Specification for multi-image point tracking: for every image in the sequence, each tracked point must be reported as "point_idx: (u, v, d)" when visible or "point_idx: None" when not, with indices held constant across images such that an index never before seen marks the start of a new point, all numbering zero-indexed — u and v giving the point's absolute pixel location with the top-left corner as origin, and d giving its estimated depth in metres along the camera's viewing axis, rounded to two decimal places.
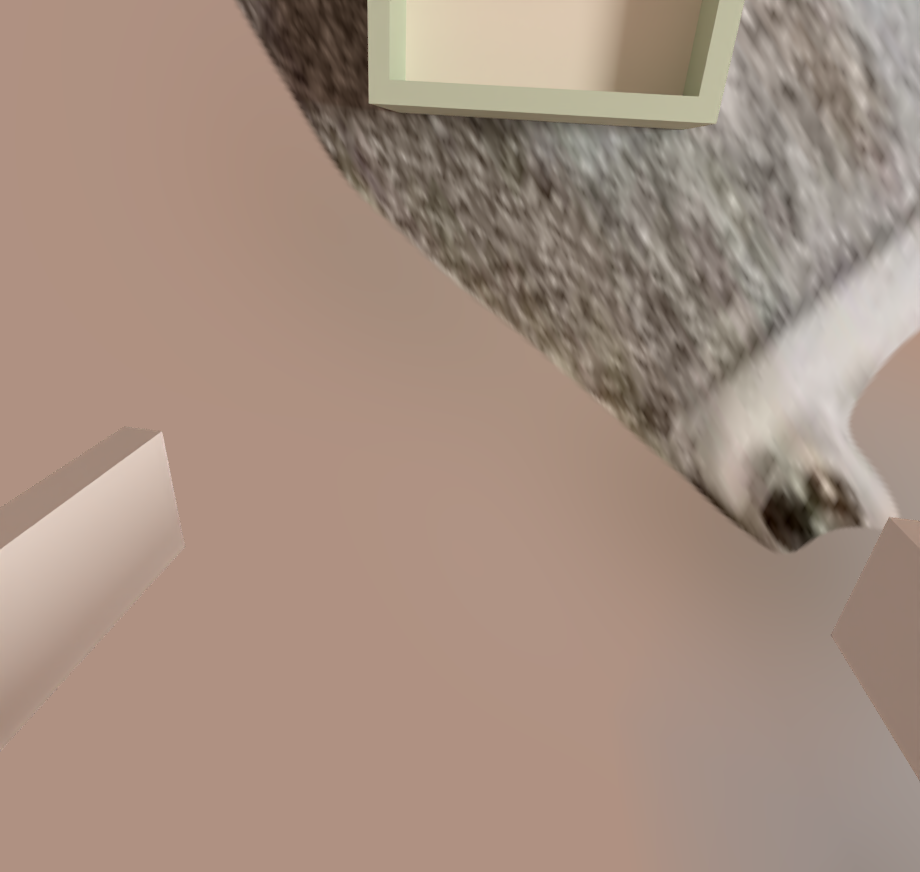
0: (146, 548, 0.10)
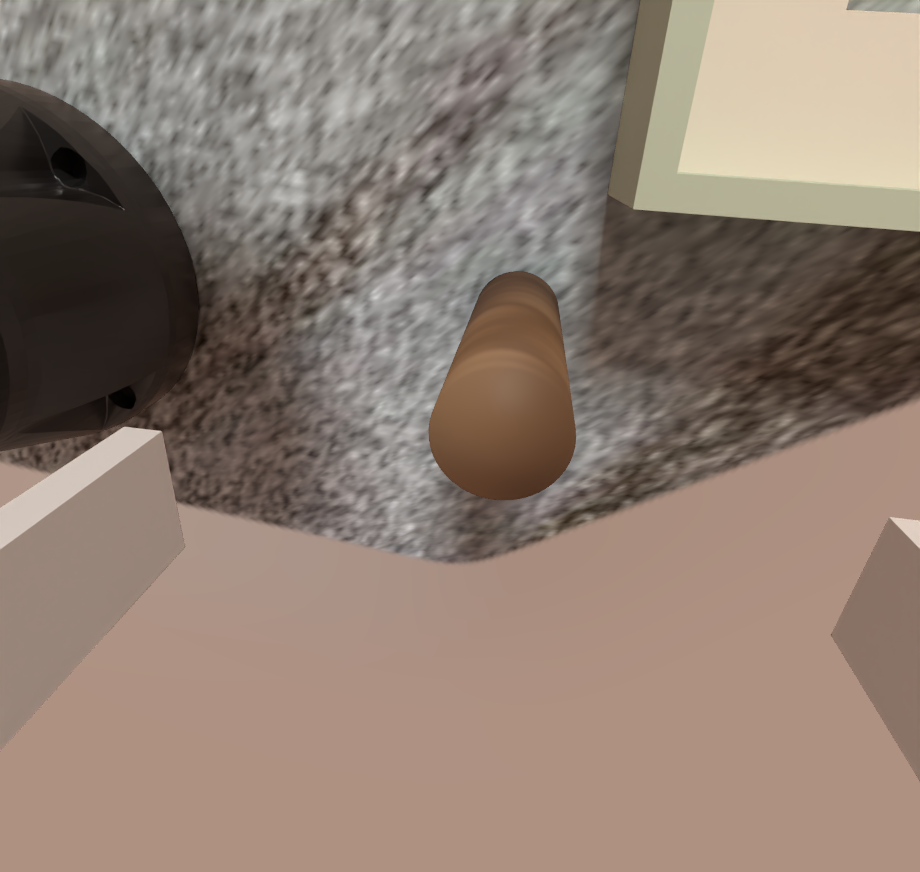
0: (146, 548, 0.10)
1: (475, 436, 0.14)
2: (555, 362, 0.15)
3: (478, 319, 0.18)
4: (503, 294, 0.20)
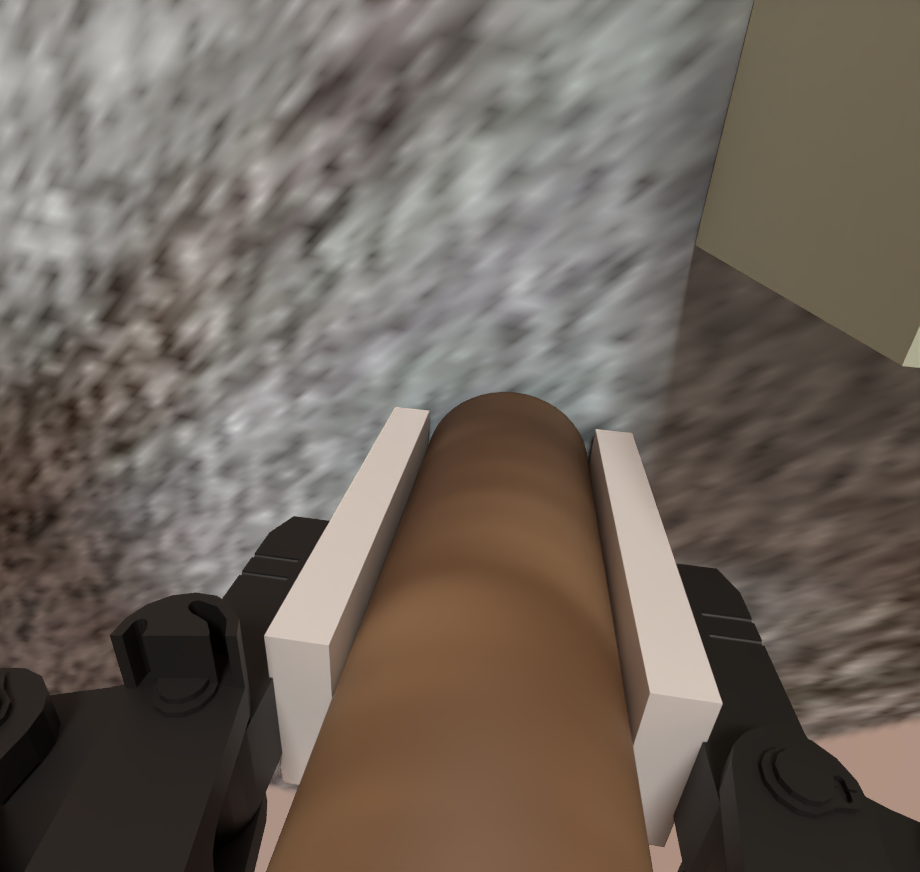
0: None
1: None
2: None
3: (385, 629, 0.06)
4: (467, 500, 0.08)
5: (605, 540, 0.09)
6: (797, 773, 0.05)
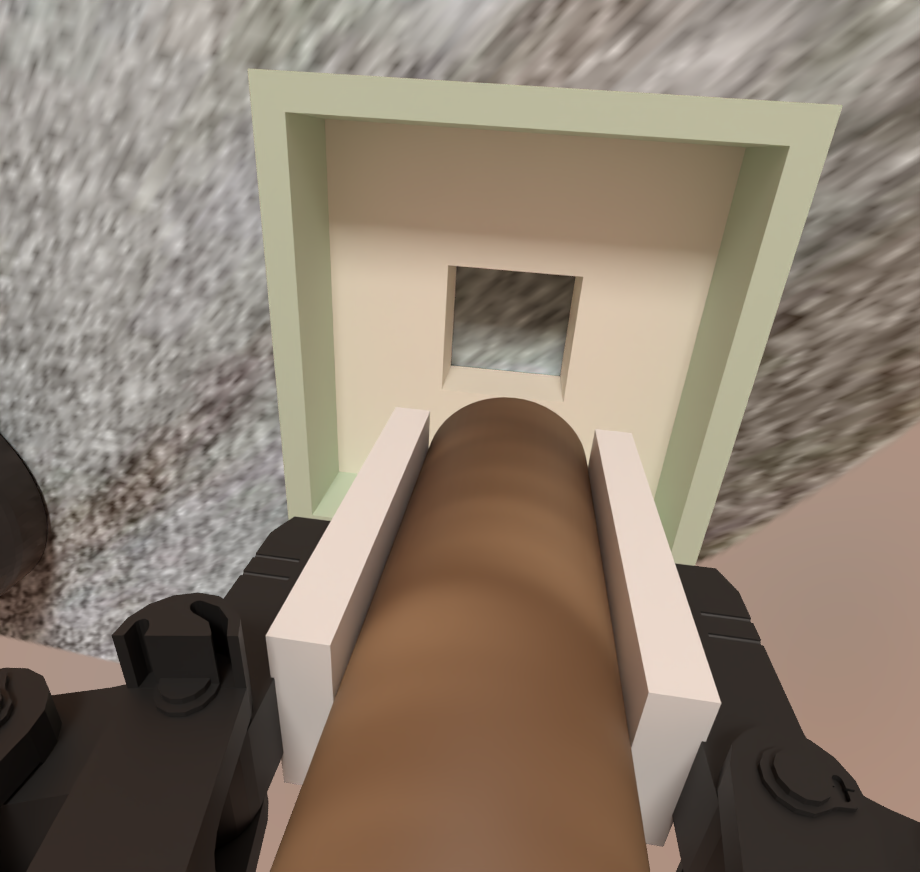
0: None
1: None
2: None
3: (384, 638, 0.06)
4: (466, 508, 0.08)
5: (604, 540, 0.09)
6: (794, 772, 0.05)
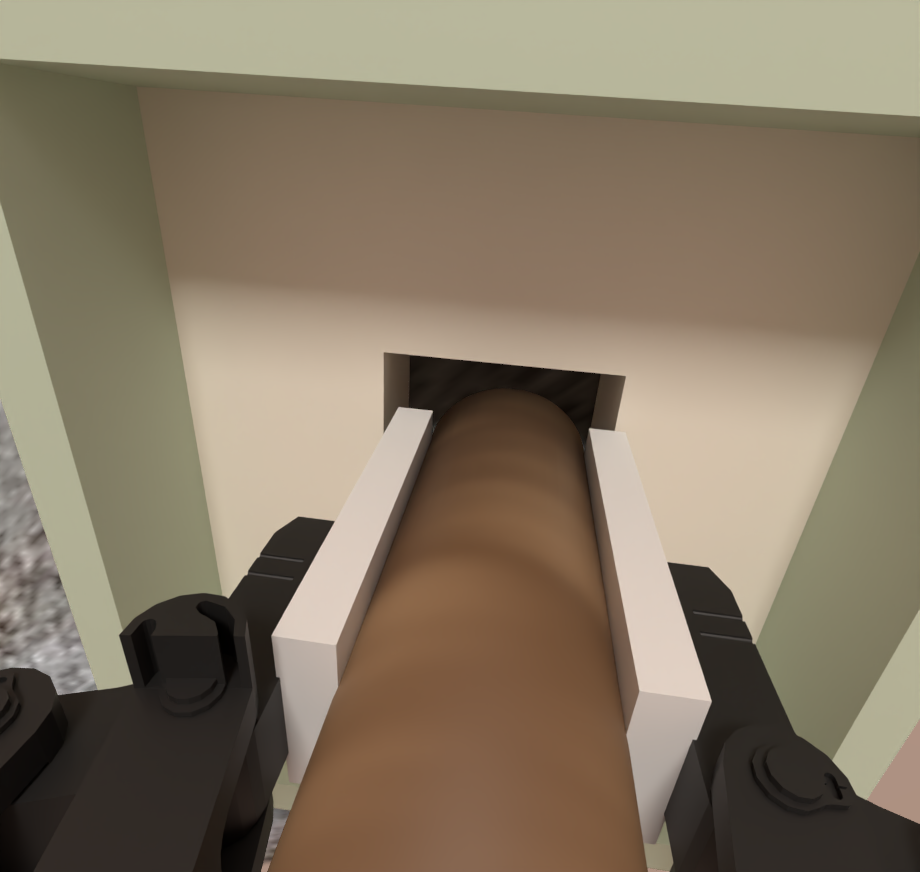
0: None
1: None
2: None
3: (392, 606, 0.07)
4: (468, 489, 0.09)
5: (597, 539, 0.09)
6: (787, 770, 0.05)
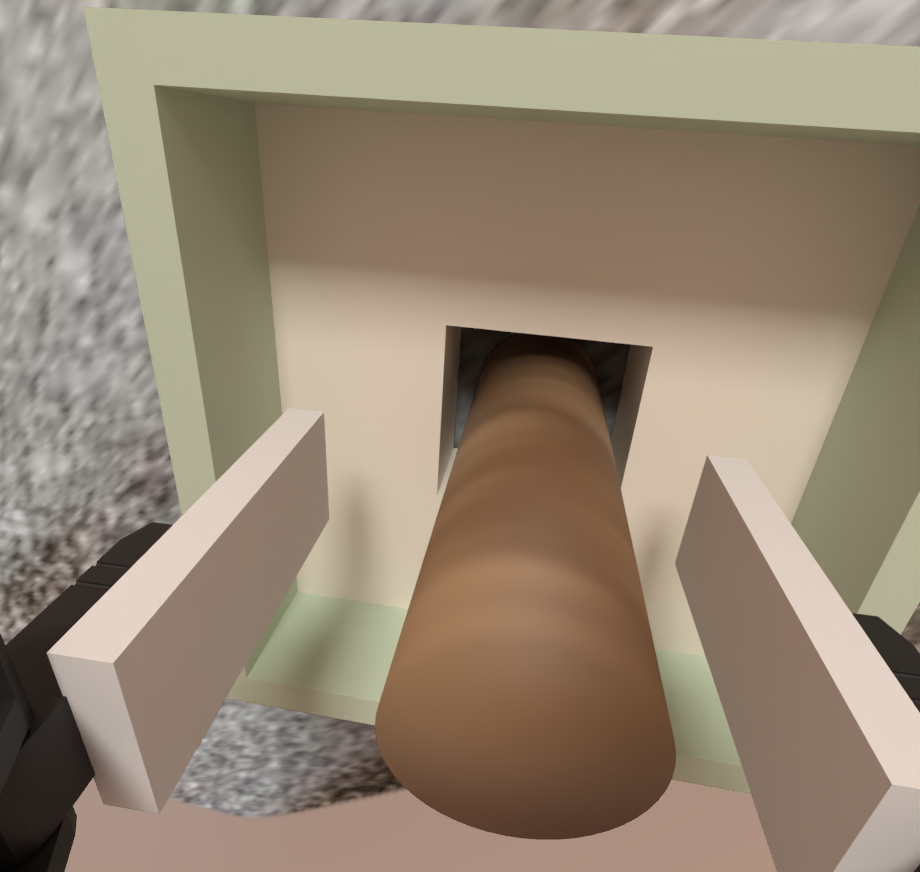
0: (310, 517, 0.12)
1: (468, 742, 0.07)
2: (621, 563, 0.08)
3: (481, 435, 0.11)
4: (521, 381, 0.13)
5: (748, 583, 0.09)
6: None
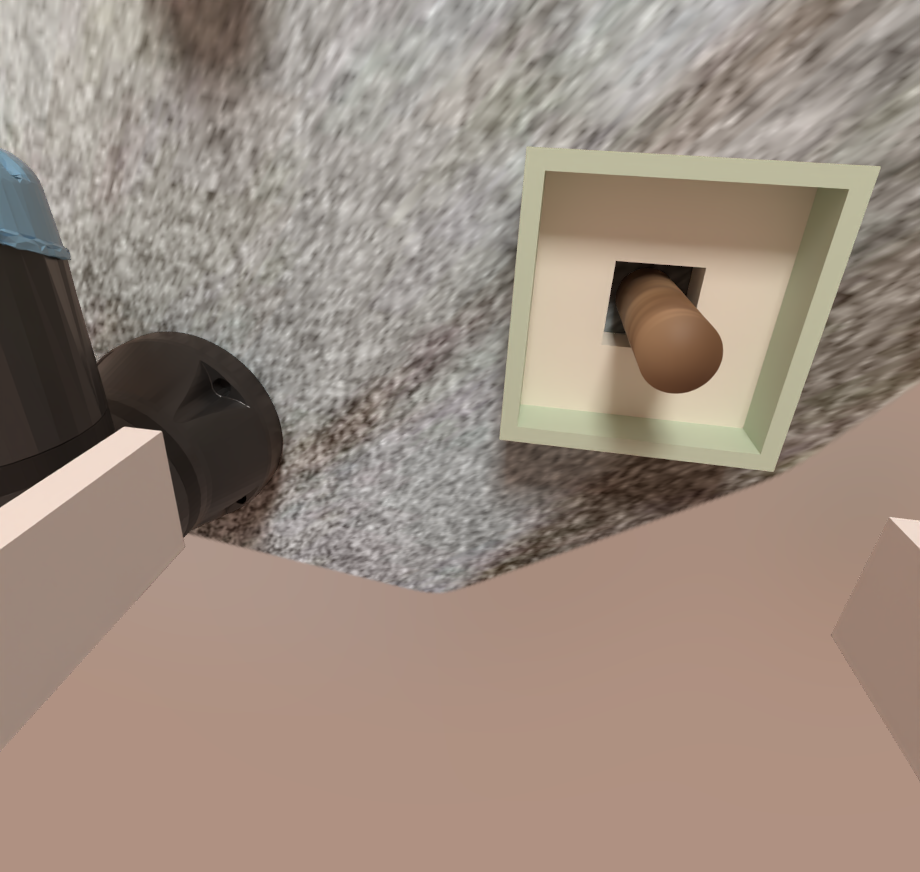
0: (146, 548, 0.10)
1: (665, 355, 0.25)
2: None
3: (642, 295, 0.30)
4: (650, 281, 0.31)
5: None
6: None
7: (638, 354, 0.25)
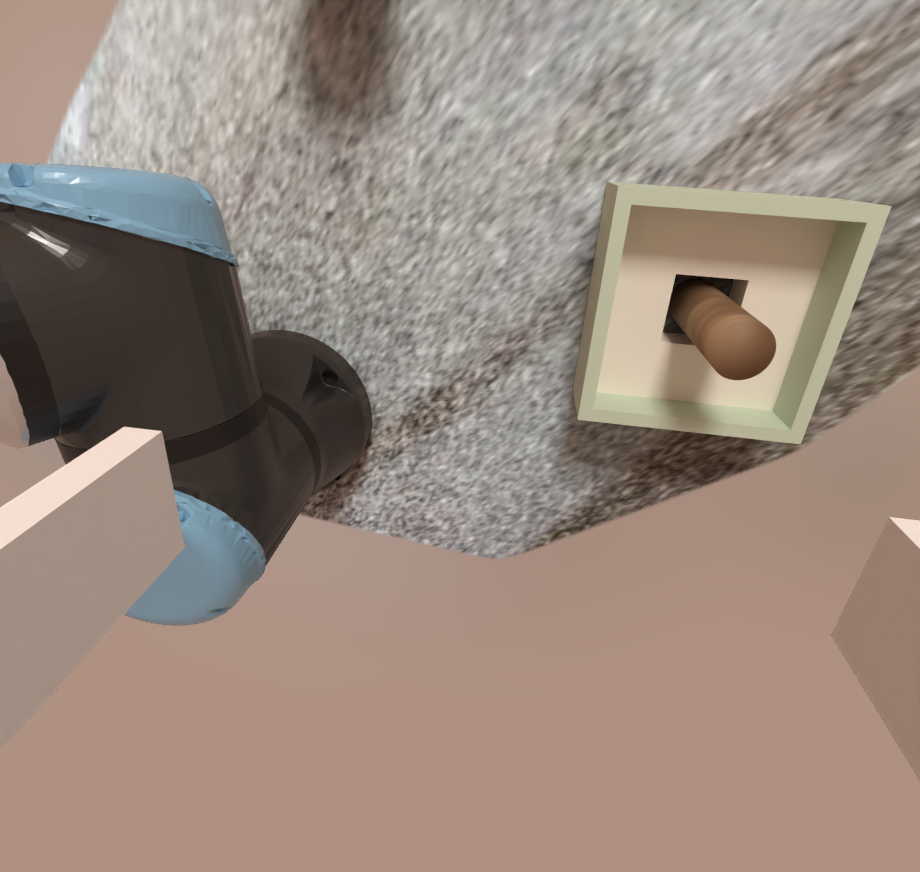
0: (146, 548, 0.10)
1: (731, 350, 0.33)
2: None
3: (703, 303, 0.37)
4: (705, 291, 0.39)
5: None
6: None
7: (710, 350, 0.33)
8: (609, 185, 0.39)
